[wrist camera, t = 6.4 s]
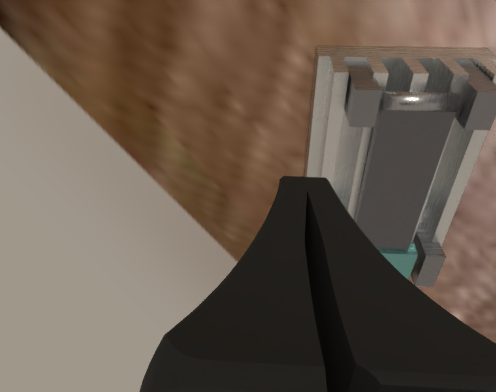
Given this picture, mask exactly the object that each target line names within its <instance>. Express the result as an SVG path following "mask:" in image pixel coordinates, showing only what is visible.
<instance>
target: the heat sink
mask: <svg viewBox="0 0 496 392" xmlns="http://www.w3.org/2000/svg"><path fill="white" fill-rule="evenodd" d="M382 91H395V92H447V93H459V94H460V98H461V101H460V106H459V109H458V111H457V112H456V114H455V117H454V120H453V123H452V126H451V129H450V132H449V134H448V137H447V140H446V143H445V146H444V149H443V152H442V154H441V157H440V160H439V163H438V166H437V169H436V172H435V174H434V177H433V180H432V183H431V186H430V189H429V192H428V194H427V197H426V200H425V203H424V206H423V209H422V212H421V214H420V217H419V220H418V223H417V226H416V229H415V232H414V234H413V237H412V240H411V243H410V244H414V245H415V248H416V251H417V254H418V256H417V259H416V261H415V264H414V267H413V269H412V272H411V276H412V279H413V282H414V285H415V286H418V287H433V286H434V284H435V281H436V279H437V277H438V274H439V272H440V270H441V267H442V265H443V262H444V260H445V258H446V256H445V254H444V252H443V250H442V247H441V246H442V244H443V241H444V239H445V236H446V234H447V231H448V229H449V226H450V224H451V221H452V219H453V216H454V214H455V211H456V209H457V206H458V204H459V201H460V199H461V197H462V194H463V192H464V189H465V187H466V184H467V182H468V179H469V177H470V174H471V172H472V169H473V167H474V164H475V162H476V159H477V157H478V154H479V152H480V149H481V147H482V145H483V142H484V140H485V137H486V135H487V132H488V130H490V128H491V126H492V123H493V121H494V118H495V116H496V54H494V53H493V52H492V51H491V50H489V49H488V48H430V47H351V46H316V55H315V65H314V76H313V87H312V97H311V108H310V118H309V129H308V139H307V150H306V160H305V171H304V177H324V178H327V179H328V181H329V182H330V184H331V186H332V187H333V189H334V191H335V193H336V194H337V196H338V197H339V199H340V201H341V202H342V204H343V205H344V207H345V208H346V210H347V211H348V213H349V214H350V215H351V217H352V218H353V219H354V218H355V213H356V209H357V204H358V199H359V195H360V190H361V185H362V181H363V176H364V171H365V167H366V162H367V157H368V152H369V148H370V143H371V138H372V134H373V129H374V125H375V121H376V116H377V111H378V106H379V101H380V96H381V92H382Z"/></svg>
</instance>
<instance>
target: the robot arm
mask: <svg viewBox="0 0 496 392" xmlns="http://www.w3.org/2000/svg"><path fill="white" fill-rule="evenodd" d="M140 392H496V344H495V343H494V342H492V341H491V340H489V339H488V338H486V337H484V336H483V335H481V334H480V333H478V332H477V331H475V330H473V329H472V328H470V327H469V326H467V325H466V324H464V323H463V322H461V321H460V320H459V319H457V318H456V317H455V316H453V315H452V314H450V313H449V312H448V311H446V310H445V309H443V308H442V307H441V306H439V305H438V304H437V303H436V302H434V301H433V300H432V299H430V298H429V297H428V296H427V295H426V294H424V293H423V292H422V291H421V290H420V289H418V288H417V287H416V286H415V285H414V284H412V283H411V282H410V281H409V280H408V279H407V278H405V277H404V276H403V275H402V274H401V273H400V272H399V271H398V270H397V269H396V268H395V267H394V266H393V265H392V264H391V263H390V262H389V261H388V260H387V259H386V258H385V257H384V256H383V255H382V254H381V253H380V252H379V250H378V249H377V248H376V247H375V246H374V245H373V244H372V242H371V241H370V240H369V239H368V238H367V236H366V235H365V234H364V233H363V231H362V230H361V229H360V228H359V226H358V225H357V224H356V222H355V221H354V219H353V218H352V217H351V215H350V214H349V213H348V211H347V210H346V208H345V207H344V205H343V204H342V202H341V201H340V199H339V197H338V196H337V194H336V193H335V191H334V189H333V187H332V186H331V184H330V182H329V181H328V179H327V178H324V177H292V176H283V177H282V178H281V179H280V183H279V188H278V192H277V195H276V197H275V200H274V203H273V205H272V207H271V209H270V211H269V213H268V216H267V218H266V220H265V222H264V223H263V225H262V227H261V229H260V230H259V232H258V234H257V235H256V237H255V239H254V240H253V242H252V244H251V245H250V247H249V248H248V250H247V251H246V252H245V254H244V255H243V257H242V258H241V259H240V261H239V262H238V263H237V265H236V266H235V267H234V268H233V269H232V271H231V272H230V273H229V274H228V276H227V277H226V278H225V279H224V280H223V281H222V282H221V284H220V285H219V286H218V287H217V288H216V289H215V290H214V291H213V292H212V293H211V294H210V295H209V296H208V297H207V298H206V299H205V300H204V301H203V302H202V303H201V304H200V305H199V306H198V307H197V308H196V309H195V310H193V312H191V313H190V314H189V315H188V316H187V317H185V318H184V319H183V320H182V321H181V322H179V323H178V324H177V325H176V326H175V327H174V328H172V329H171V330H170V331H169V332H167V333H166V334H165V335H164V337H163V339H162V340H161V342H160V344H159V346H158V348H157V350H156V351H155V354H154V356H153V358H152V360H151V362H150V364H149V366H148V369H147V371H146V374H145V376H144V379H143V382H142V385H141V389H140Z"/></svg>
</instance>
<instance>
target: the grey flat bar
mask: <svg viewBox="0 0 496 392" xmlns="http://www.w3.org/2000/svg"><path fill="white" fill-rule="evenodd" d="M460 101H461V98H460V94H459V93H447V92H395V91H382V92H381V96H380V101H379V106H378V111H377V116H376V121H375V125H374V129H373V134H372V138H371V143H370V148H369V152H368V157H367V162H366V167H365V171H364V176H363V181H362V185H361V190H360V195H359V199H358V204H357V209H356V213H355V218H354V221H355V222H356V224H357V225H358V226H359V228H360V229H361V230H362V231H363V233H364V234H365V235H366V236H367V238H368V239H369V240H370V241H371V242H372V244H373V245H374V246H375V247H376V248H377V249H378V250H379V252H380V253H381V254H382V255H383V256H384V257H385V258H386V259H387V260H388V261H389V262H390V263H391V264H392V265H393V266H394V267H395V268H396V269H397V270H398V271H399V272H400V273H401V274H402V275H403V276H404V277H405V278H407V279H409V277H410V275H411V272H412V269H413V267H414V264H415V261H416V259H417V256H418V254H417V251H416V248H415V245H414V244H410V243H411V240H412V237H413V234H414V232H415V229H416V226H417V223H418V220H419V217H420V214H421V212H422V209H423V206H424V203H425V200H426V197H427V194H428V192H429V189H430V186H431V183H432V180H433V177H434V174H435V172H436V169H437V166H438V163H439V160H440V157H441V154H442V152H443V149H444V146H445V143H446V140H447V137H448V134H449V132H450V129H451V126H452V123H453V120H454V117H455V114H456V112H457V111H458V109H459V106H460Z"/></svg>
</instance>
